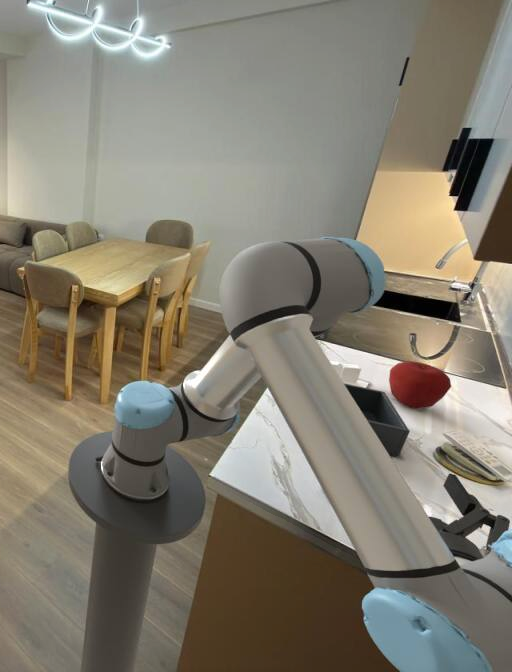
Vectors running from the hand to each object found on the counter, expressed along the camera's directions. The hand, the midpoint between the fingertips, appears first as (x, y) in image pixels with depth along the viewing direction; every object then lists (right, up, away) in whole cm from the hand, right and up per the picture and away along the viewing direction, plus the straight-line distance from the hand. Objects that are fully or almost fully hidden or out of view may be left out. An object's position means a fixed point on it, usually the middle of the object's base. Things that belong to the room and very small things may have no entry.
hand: (395, 465), depth 69 cm
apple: (+49, -3, +45) cm, 67 cm away
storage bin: (+23, -6, +37) cm, 44 cm away
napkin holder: (+38, +2, +57) cm, 68 cm away
